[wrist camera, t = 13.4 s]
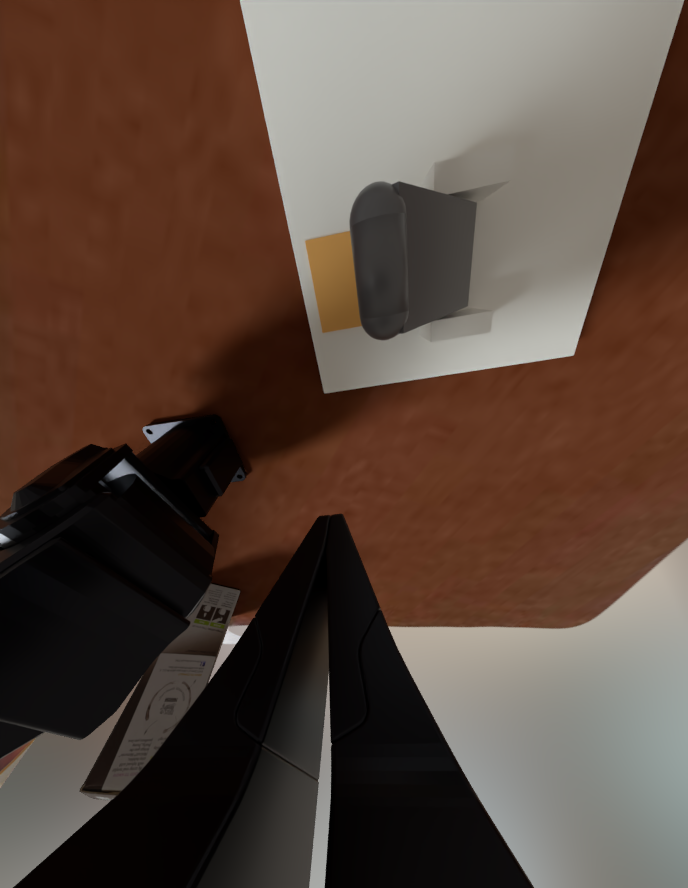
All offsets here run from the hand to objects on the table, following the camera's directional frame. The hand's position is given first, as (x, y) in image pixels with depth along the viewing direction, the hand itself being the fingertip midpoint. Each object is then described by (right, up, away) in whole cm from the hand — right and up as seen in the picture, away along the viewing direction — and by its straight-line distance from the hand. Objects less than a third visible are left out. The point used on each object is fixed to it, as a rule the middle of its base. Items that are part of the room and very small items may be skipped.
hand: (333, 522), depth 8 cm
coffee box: (-18, -19, +27) cm, 38 cm away
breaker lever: (+6, +12, +4) cm, 14 cm away
